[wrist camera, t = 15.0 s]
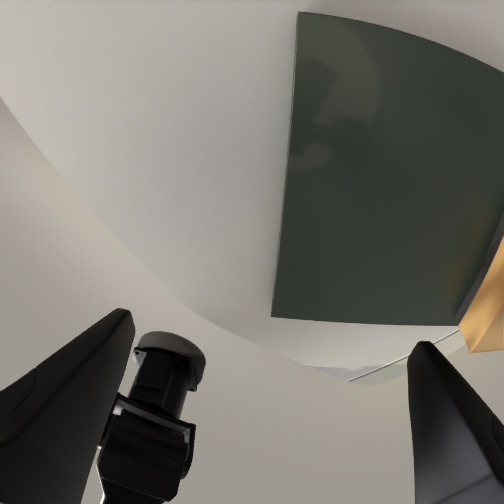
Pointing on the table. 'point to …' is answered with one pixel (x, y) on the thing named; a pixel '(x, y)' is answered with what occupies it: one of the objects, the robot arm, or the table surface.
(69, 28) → the table surface
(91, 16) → the table surface
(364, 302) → the chalkboard
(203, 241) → the table surface
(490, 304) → the tan rectangular block
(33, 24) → the table surface
